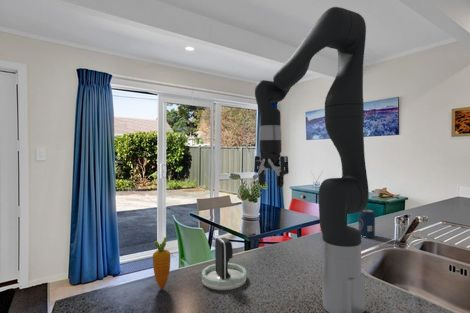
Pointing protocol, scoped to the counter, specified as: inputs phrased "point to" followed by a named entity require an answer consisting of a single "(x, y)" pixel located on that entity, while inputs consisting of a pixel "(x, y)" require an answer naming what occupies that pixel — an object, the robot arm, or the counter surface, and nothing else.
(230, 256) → the battery charger
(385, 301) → the counter surface
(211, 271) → the dish
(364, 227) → the soda can
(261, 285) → the counter surface
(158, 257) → the carrot
